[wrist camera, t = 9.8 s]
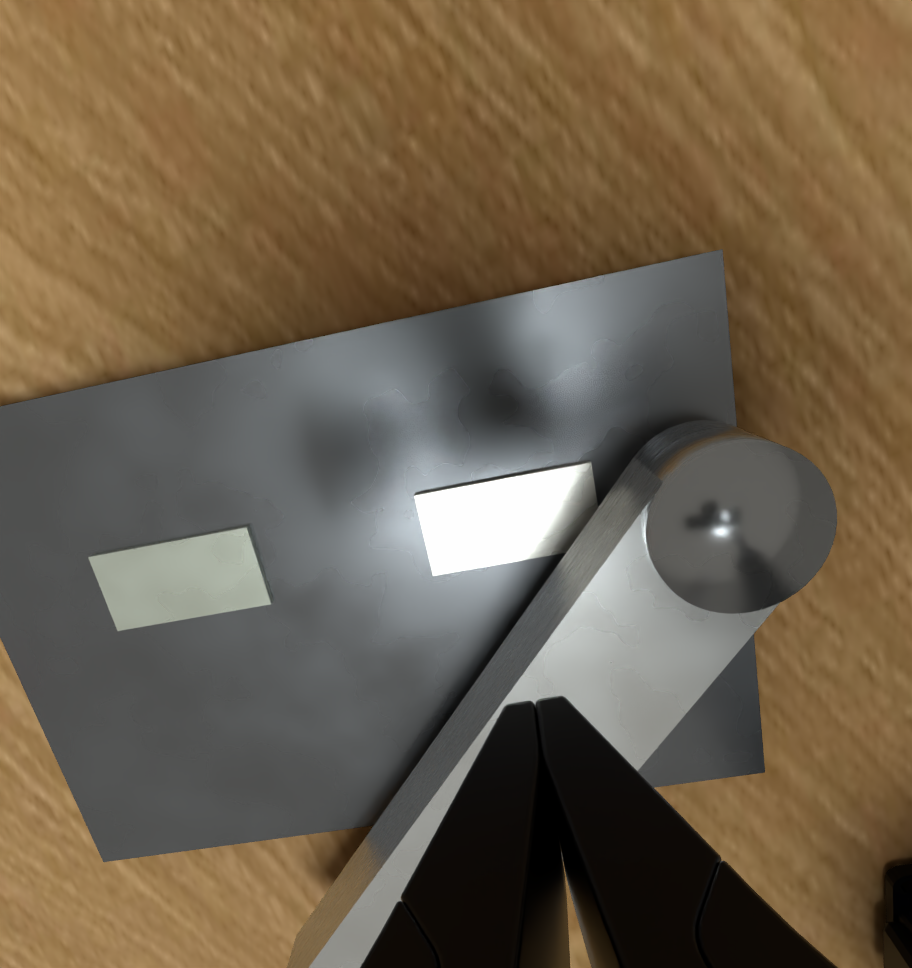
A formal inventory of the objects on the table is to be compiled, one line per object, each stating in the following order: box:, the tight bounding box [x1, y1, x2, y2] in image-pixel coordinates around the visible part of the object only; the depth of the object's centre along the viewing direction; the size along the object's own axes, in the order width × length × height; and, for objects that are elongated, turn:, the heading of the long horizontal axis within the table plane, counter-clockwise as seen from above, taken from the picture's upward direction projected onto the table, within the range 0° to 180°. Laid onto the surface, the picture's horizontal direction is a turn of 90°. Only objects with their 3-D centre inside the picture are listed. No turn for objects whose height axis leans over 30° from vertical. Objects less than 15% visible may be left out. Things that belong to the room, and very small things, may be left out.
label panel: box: [0, 249, 765, 862], centre depth 18 cm, size 23×16×1 cm
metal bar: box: [287, 420, 837, 968], centre depth 16 cm, size 22×4×3 cm, turn 149°
